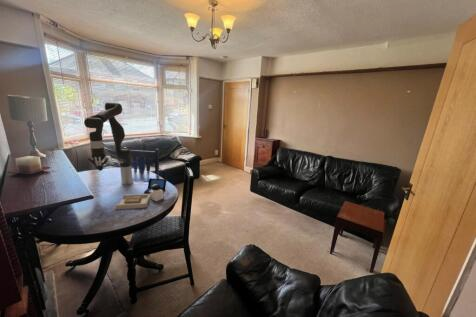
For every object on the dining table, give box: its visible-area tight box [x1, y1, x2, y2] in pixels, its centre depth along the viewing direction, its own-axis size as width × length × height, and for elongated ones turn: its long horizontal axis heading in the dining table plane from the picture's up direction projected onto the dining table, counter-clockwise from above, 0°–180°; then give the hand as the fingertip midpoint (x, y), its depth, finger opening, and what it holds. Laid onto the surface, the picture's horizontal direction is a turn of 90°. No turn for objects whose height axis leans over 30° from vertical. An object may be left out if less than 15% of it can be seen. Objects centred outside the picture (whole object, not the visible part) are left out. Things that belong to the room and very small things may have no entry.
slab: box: [124, 196, 142, 204], centre depth 155 cm, size 8×3×10 cm
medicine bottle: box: [150, 184, 164, 202], centre depth 162 cm, size 7×7×12 cm
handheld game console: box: [143, 178, 167, 194], centre depth 176 cm, size 16×13×9 cm
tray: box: [114, 193, 151, 210], centre depth 155 cm, size 17×21×3 cm
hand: (100, 170), depth 144 cm, fingers closed
